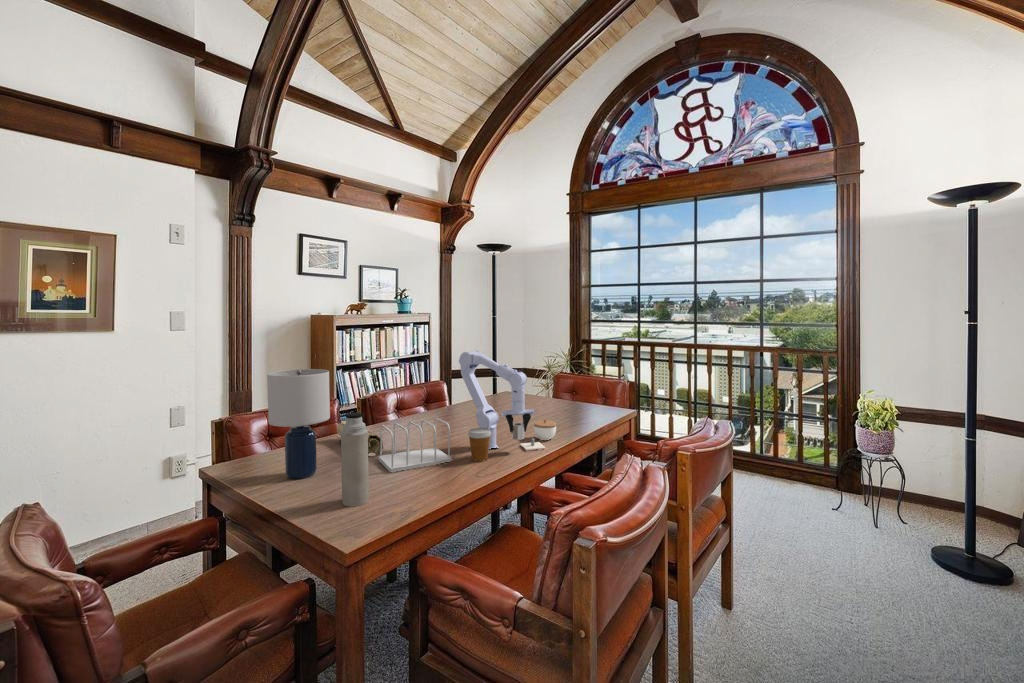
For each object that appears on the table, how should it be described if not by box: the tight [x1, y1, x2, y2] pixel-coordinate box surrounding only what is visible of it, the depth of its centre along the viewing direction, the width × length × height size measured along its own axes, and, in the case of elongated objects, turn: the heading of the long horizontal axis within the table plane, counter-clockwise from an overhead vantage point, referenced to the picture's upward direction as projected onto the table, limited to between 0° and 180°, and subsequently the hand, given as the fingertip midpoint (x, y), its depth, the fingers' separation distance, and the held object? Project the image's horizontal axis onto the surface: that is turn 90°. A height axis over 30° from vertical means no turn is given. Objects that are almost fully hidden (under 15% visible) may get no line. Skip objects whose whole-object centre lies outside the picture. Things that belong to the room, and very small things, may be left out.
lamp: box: [266, 368, 331, 480], centre depth 165 cm, size 20×20×39 cm
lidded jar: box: [533, 419, 557, 440], centre depth 215 cm, size 11×11×9 cm
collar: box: [511, 422, 525, 441], centre depth 194 cm, size 5×5×6 cm
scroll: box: [334, 420, 384, 455], centre depth 201 cm, size 11×34×10 cm, turn 39°
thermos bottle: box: [340, 412, 370, 507], centre depth 142 cm, size 8×8×28 cm
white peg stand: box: [520, 438, 547, 450], centre depth 201 cm, size 9×9×4 cm
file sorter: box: [377, 417, 453, 473], centre depth 181 cm, size 25×17×16 cm
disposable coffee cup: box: [467, 427, 491, 462], centre depth 184 cm, size 10×10×12 cm
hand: (517, 431), depth 194 cm, fingers closed on collar, 5 cm apart
